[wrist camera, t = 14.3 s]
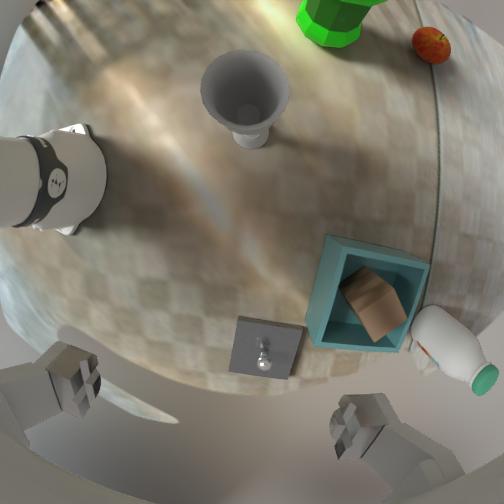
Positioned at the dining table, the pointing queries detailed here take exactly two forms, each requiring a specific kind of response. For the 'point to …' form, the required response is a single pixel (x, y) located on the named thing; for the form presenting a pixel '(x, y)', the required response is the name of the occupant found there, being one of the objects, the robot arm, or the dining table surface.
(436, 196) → the dining table surface
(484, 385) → the milk bottle
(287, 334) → the gray square plate
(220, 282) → the dining table surface
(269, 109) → the chalice
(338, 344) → the bin
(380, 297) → the brown wooden block
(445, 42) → the fruit
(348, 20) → the plastic bottle
